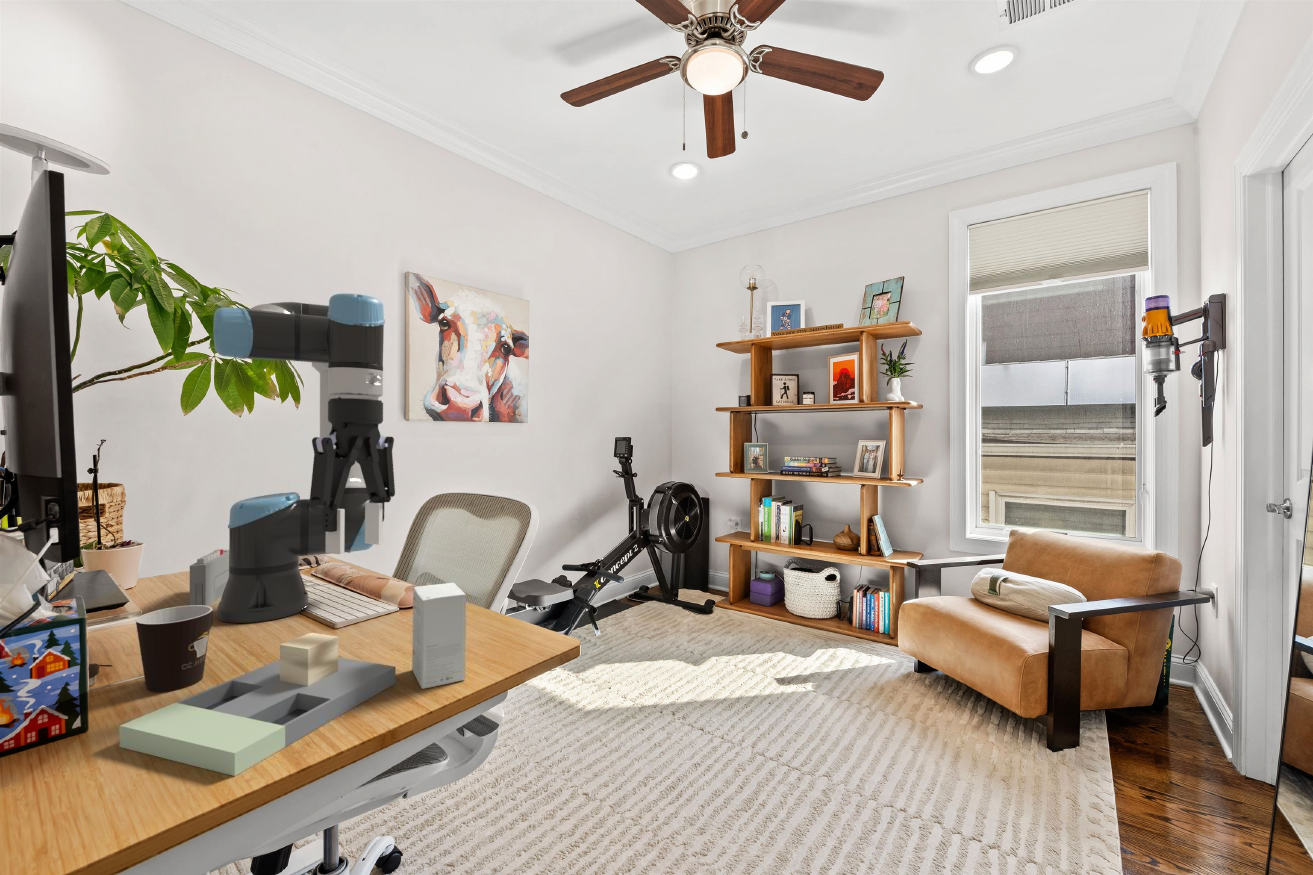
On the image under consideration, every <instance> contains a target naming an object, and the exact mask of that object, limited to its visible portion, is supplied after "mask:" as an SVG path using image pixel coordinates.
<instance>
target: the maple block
mask: <svg viewBox="0 0 1313 875" xmlns="http://www.w3.org/2000/svg"><path fill="white" fill-rule="evenodd" d="M338 657H339V636H336V635H329V634H324V633H323V634H322V633H316V632H309V633H306V634H304V635H302V636H298V637H296V638H293V639H291V640H288V641H285V642H283V643H281V644H279V660H280V681H284V682H289V683H295V684H300V685H306V686H309V685H311V684H313V683H315V682H317V681H319V680H321V679H323V678H325V677H327V676H330V675H332V674H334V673H336V672H338Z"/></svg>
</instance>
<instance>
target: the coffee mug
mask: <svg viewBox="0 0 1313 875" xmlns="http://www.w3.org/2000/svg"><path fill="white" fill-rule="evenodd" d="M213 622H214V614H213V607H212V606H211V605H210V606H204V605H190V604H189V605H179V606H173V607H168V608H161V609H158V610H153V611H150V612H147V613H144V614H141V615H140V616H138V617H136V619H135V625H136V632H137V637H138V639H137V640H138V644H139V651H140V656H141V662H142V663H141V664H142V671H143V677H144V683H145V689H146V690H145V691H147V692H150V693H168V692H174V691H179V690H181V689H185V688H189V687H192V686H194V685H196V684H197V683H200V681H202V680H203V679H204V672H205V666H206V659H207V658H206V657H207V651H208V646H209V637H210V630H211V628H212V626H213Z"/></svg>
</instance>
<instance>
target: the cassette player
mask: <svg viewBox="0 0 1313 875" xmlns="http://www.w3.org/2000/svg"><path fill="white" fill-rule="evenodd" d="M228 578H229V549H223V548H222V549H215V550H213V551H212V552H209V553H208V554H205V555H203V556H201V557H199V558H197V559H196V562H195V563H192V564H190V565H189V605H204V606H210V607H211V606H212V605H214V604H215V603H216V602H218V601H220V600H221V598H222V595H223V592H224V589H225V586H226V584H227V581H228Z"/></svg>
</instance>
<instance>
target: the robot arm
mask: <svg viewBox="0 0 1313 875" xmlns="http://www.w3.org/2000/svg"><path fill="white" fill-rule="evenodd" d="M328 300H329V301H328V305H324V304H314V303H304V302H303V303H302V302H295V301H283V302H282V301H281V302H272V303H264V304H263V303H261V304H257V305H255V306H253V307H251V308H250V309H249V308H245V307H226V306H225V307H219V308H217V309H216V310H215V312H214V314H213V329H212V330H213V343H214V350H215V352H216V353H217V354H218V355H219V356H222V357H228V358H238V359H242V360H246V359H252V360H253V359H255V360H270V361H271V360H272V361H273V360H274V361H291V362H292V361H293V362H304V363H311V366H312V368H314V369H315V371H316V372H317V373H319V437H318V436H315V437H313V438H312V439H311V443H312V445H311V446H312V449H313V455H314V456H313V464H312V465H313V466H312V474H311V483H310V492H309V498H307V499H305V498H304V499H303V498H302V499H301V496H300V494H299V493H298V492H295V491H294V492H279V493H273V494H271V493H270V494H265V495H259V496H254V497H249V498H244V499H242V500H239V501H237V502H235V503H234V504H232V506H231V507H230V510H229V520H228V521H229V522H228V525H227V528H228V530H229V544H228V546H229V548H228V550H229V578H228V581H227V584H226V586H225V589H224V592H223V595H222V598H220V600H219V601H220V602H219V603H218V605H217V619H218V620H219V621H222V622H226V623H235V624H237V623H239V624H242V623H243V624H245V623H247V624H248V623H257V622H267V621H271V620H272V621H273V620H278V619H282V618H286V617H289V616H293V615H296V614H299V613H300V612H302V611H301V610H302V608H304V607H305V606H307V605H308V606H309V593H308V591H307V590H306V586H305V583H304V580H303V577H302V575H301V572H300V567H299V564H300V562H299V560H300V558H299V557H304V556H307V557H308V556H319V555H330V554H332V555H333V554H334V555H344V554H345V553H347V554H350V553H352V552H360V551H367V550H369V549H370V548H372V547H373V546H374V545H376V546H377V545H378V546H379V545H383V523H384V520H385V504H386V503H390V502H391V500H392V498H394V497H395V495H396V487H395V472H394V461H393V460H394V459H393V458H394V457H393V448H394V443H395V438H394V437H393V436H385V435H382V434H381V432H380V430H379V425H381V424H382V423H383V422H384V402H382V400H381V399H380V400H379V398H381V397H382V396H384V363H383V362H384V335H385V334H384V332H385V331H384V330H385V327H384V326H385V322H386V319H385V317H384V316H385V313H384V304H383V302H382V300H380V299H378V298H377V297H374V296H370V295H365V294H358V293H346V292H345V293H336V294H333V295H332V296H330V297H329V299H328Z"/></svg>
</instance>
